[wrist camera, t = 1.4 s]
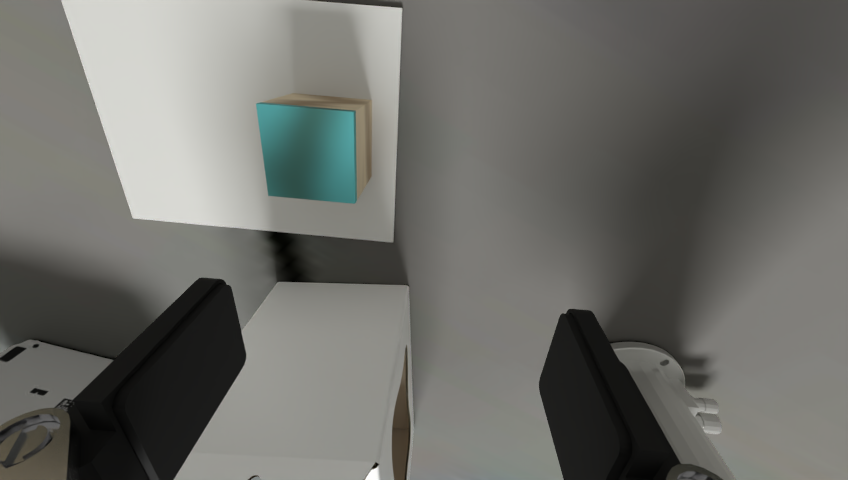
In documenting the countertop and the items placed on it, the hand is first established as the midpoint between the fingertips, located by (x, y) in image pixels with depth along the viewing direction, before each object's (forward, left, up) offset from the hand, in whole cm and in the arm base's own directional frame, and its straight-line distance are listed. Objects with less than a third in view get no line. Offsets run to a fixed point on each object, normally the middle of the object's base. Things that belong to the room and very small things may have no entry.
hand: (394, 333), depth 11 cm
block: (+8, -1, -21) cm, 22 cm away
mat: (+15, -1, -21) cm, 26 cm away
